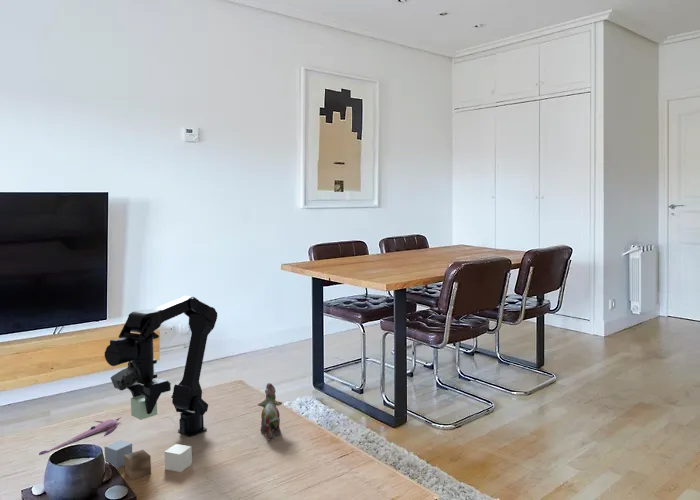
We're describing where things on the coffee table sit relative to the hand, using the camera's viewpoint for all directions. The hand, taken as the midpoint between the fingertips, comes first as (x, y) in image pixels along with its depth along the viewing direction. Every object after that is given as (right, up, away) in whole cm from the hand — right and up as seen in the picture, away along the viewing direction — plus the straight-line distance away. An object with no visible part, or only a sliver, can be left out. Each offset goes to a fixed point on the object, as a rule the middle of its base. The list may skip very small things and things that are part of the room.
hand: (144, 411), depth 156 cm
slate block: (-6, -13, -2) cm, 15 cm away
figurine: (+33, -12, +16) cm, 38 cm away
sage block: (0, -1, 0) cm, 1 cm away
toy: (-24, -13, +14) cm, 30 cm away
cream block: (+11, -14, -5) cm, 18 cm away
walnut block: (+2, -14, -9) cm, 17 cm away
